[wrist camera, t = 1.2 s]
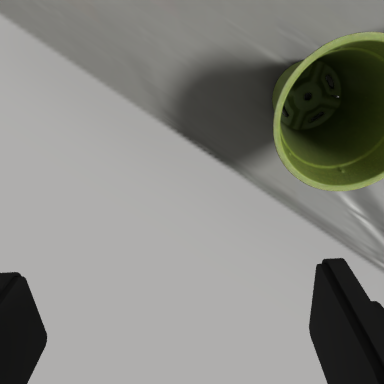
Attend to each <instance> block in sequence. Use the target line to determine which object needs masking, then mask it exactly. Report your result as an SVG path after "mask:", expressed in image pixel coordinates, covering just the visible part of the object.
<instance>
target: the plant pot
mask: <svg viewBox="0 0 384 384" xmlns="http://www.w3.org/2000/svg"><path fill="white" fill-rule="evenodd" d="M327 75H330V76H331V78H332V80H333V83H334V87H333V88H330V86H329V83H328V81H327V80H326V76H327ZM306 93H310V94H311V98H310V99H309V100H305V99H304V96H305V94H306ZM331 95H338V96H339V98H338V97H334V96H331ZM272 103H273V109H274V112H275V113H274V119H273V136H274V142H275V146H276V150H277V153H278V155H279V157H280V159H281V161H282V163H283V164H284V166H285V167H286V168H287V169H288V171H289V172H290V173H291V174H292V175H294V176H295V177H296V178H297V179H299V180H300V181H302V182H303V183H305V184H307V185H309V186H312V187H314V188H318V189H322V190H327V191H349V190H354V189H359V188H362V187H365V186H368V185H371V184H373V183H376V182H377V181H379V180H381V179H383V178H384V33H380V32H362V33H355V34H350V35H346V36H343V37H340V38H338V39H335V40H333V41H331V42H329V43H327V44H325V45H323V46H322V47H320V48H319V49H317V50H316V51H314V52H313V53H312V54H311V55H309V56H308V57H307V58H306V59H305V60H302V61H300V62H297V63H295V64H293V65H292V66H290V67H289V68H288V69H286V70H285V71H284V72H283V74H282V75H281V76H280V77H279V79H278V81H277V82H276V85H275V88H274V91H273V96H272ZM283 105H284V107H285V109H286V111H287V113H288V114H289V115H290V116H289V115H288V117H285V116H284V114H283V113H282V109H283ZM321 112H323V113H325V114H323V115H322V116H321V117H319V118H318V119H316V120H315V121H311V118H313V117H315V116H316V115H318V114H319V113H321Z"/></svg>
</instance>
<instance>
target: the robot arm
mask: <svg viewBox="0 0 384 384" xmlns="http://www.w3.org/2000/svg"><path fill="white" fill-rule="evenodd" d="M309 330H310V336H311V339H312V342H313V344H314V347H315V350H316V353H317V356H318V358H319V361H320V364H321V366H322V369H323V372H324V375H325V378H326V380H327V383H328V384H384V308H383V307H382V306H381V304H380V303H378V302H377V301H370V299H369V297H368V296H367V294H366V293H365V291H364V290H363V288H362V286H361V285H360V283H359V281H358V280H357V278H356V277H355V275H354V274H353V272H352V270H351V269H350V267H349V266H348V264H347V262H346V261H345V260H344V259H343V258H337V259H336V258H335V259H324V260H323V261H322V264H317V266H316V273H315V282H314V290H313V298H312V307H311V315H310V324H309ZM46 342H47V333H46V331H45V328H44V325H43V323H42V320H41V317H40V315H39V312H38V309H37V307H36V304H35V301H34V299H33V296H32V293H31V291H30V288H29V286H28V283H27V280H26V278H25V277H22V276H21V275H20V274H19V273H18V272H12V273H0V384H27V383H28V381H29V379H30V377H31V375H32V373H33V370H34V368H35V366H36V364H37V362H38V360H39V358H40V356H41V354H42V352H43V350H44V348H45V346H46Z"/></svg>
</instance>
